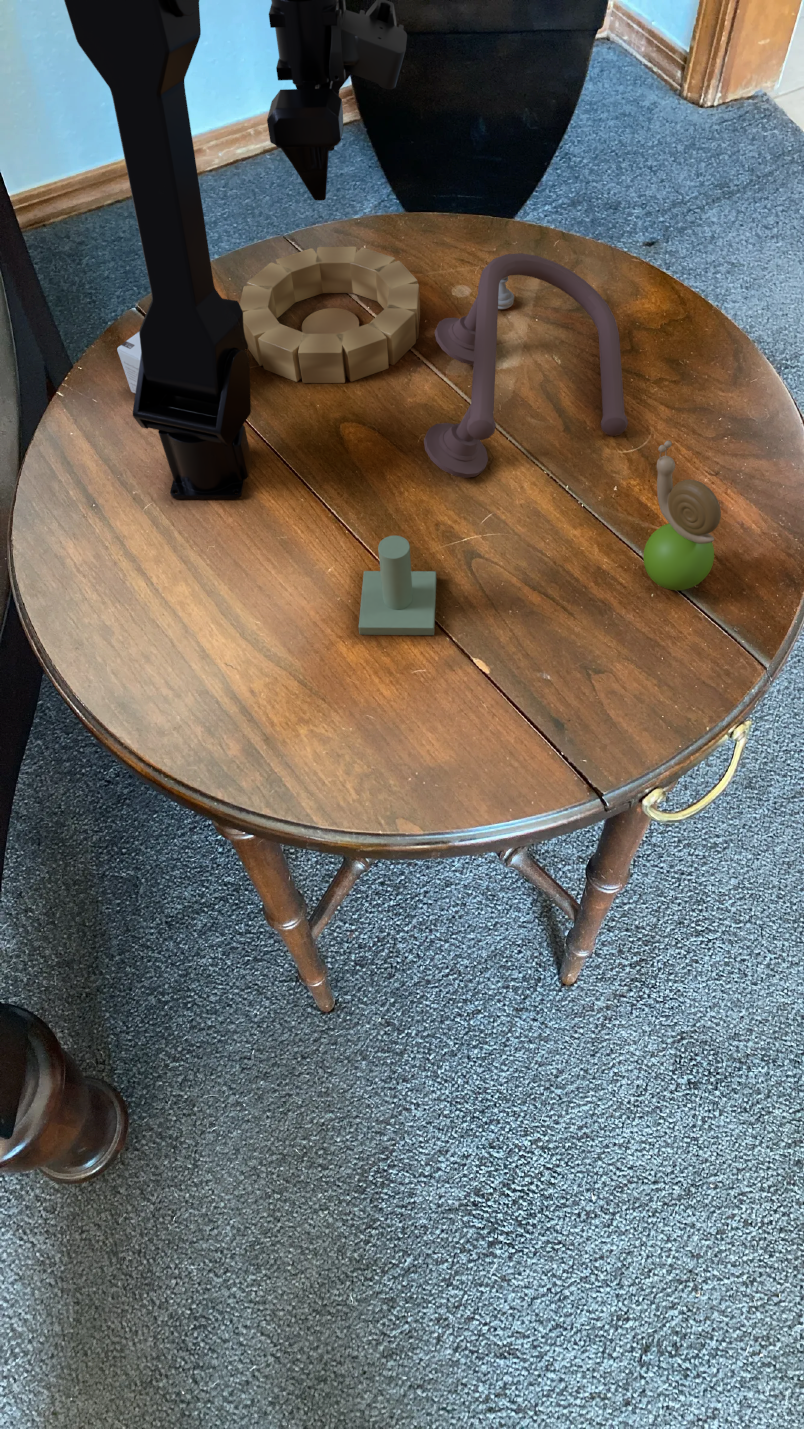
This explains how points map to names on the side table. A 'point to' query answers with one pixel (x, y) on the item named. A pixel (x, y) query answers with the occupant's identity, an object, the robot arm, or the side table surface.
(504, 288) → the pawn
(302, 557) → the side table surface
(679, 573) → the snail figurine
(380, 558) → the peg stand
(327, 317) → the cork coaster
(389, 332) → the birch ring
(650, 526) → the side table surface
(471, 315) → the toilet paper hanger
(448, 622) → the side table surface
